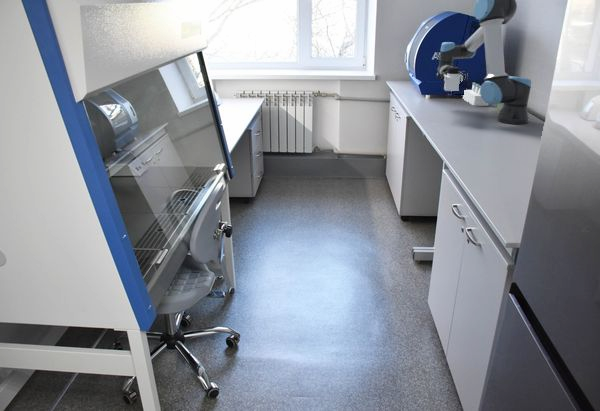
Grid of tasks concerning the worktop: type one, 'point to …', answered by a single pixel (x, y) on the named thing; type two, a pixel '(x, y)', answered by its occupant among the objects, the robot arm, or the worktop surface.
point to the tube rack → (474, 96)
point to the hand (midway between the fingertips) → (453, 78)
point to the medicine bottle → (452, 79)
